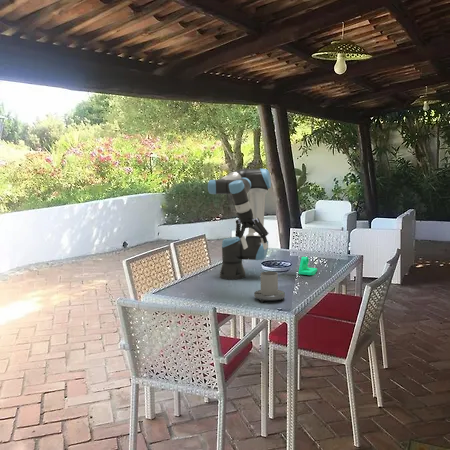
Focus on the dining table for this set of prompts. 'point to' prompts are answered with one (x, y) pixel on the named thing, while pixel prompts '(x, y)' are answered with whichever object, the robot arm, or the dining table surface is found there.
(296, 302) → the dining table surface
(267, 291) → the cup
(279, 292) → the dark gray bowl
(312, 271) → the camera mount
